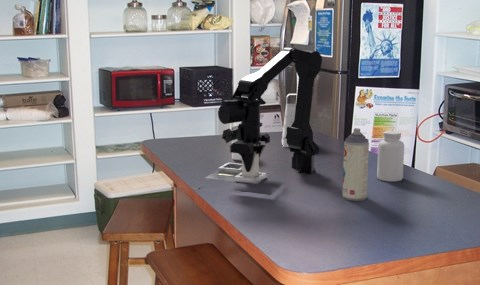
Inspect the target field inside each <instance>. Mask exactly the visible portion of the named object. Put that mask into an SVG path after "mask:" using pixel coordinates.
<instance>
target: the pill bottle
mask: <svg viewBox="0 0 480 285" xmlns="http://www.w3.org/2000/svg"><path fill="white" fill-rule="evenodd" d="M382 134H383V135H382V136H383V137H382V140H380V141H379V142H378V145H377V165H376V166H377V168H376V169H377V170H376V178H377V179H378V180H380V181H384V182H391V183H392V182H400V181H402V180H403V177H404V163H405V161H404V160H405V158H404V157H405V144H404V142H403V141H402V140H401V137H402V136H401V135H402V134H401V132H400V131H396V130H394V131H393V130H387V131H386V130H385V131H383V133H382Z"/></svg>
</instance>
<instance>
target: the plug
mask: <svg viewBox="0 0 480 285" xmlns="http://www.w3.org/2000/svg"><path fill="white" fill-rule="evenodd" d="M259 160H260V158H259V153H256V155H255V158H254V161H253V164H252V167H251V170H250V172H246V169H245V166H244V163H243V160H241V164H242V176H243V177H252V178H256V177H257V176H259V170H260V164H259V163H260V161H259Z"/></svg>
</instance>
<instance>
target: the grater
mask: <svg viewBox="0 0 480 285" xmlns="http://www.w3.org/2000/svg"><path fill="white" fill-rule="evenodd" d="M289 96H297V93H288V94H287V95H286V98H285V99H286V101H285V102H286V104H285V110H284V118H283V119H284V120H283V127H282V134H281V145H283V146H282V148H289V146H288V144H287V139H285V137H286V134H287V127H291V125H292V124H293V123H294V118H295V109H296V103H288V97H289Z"/></svg>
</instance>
